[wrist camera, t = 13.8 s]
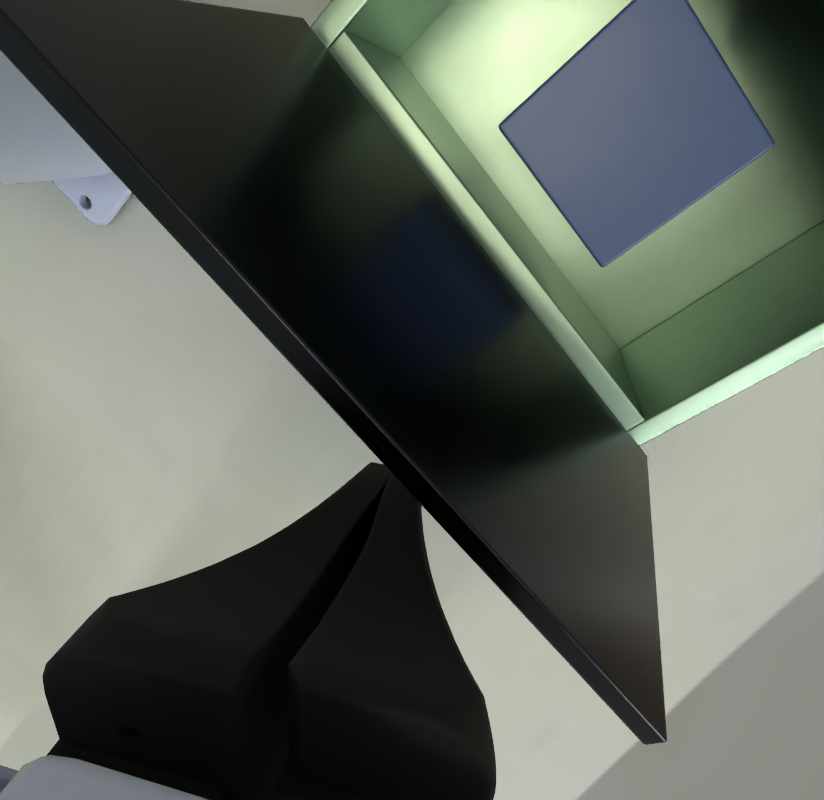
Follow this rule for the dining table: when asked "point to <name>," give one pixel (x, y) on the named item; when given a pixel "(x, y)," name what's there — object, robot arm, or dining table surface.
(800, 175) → the washer
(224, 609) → the robot arm
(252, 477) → the dining table surface
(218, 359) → the dining table surface
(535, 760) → the dining table surface
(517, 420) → the lid
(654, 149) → the navy cube
